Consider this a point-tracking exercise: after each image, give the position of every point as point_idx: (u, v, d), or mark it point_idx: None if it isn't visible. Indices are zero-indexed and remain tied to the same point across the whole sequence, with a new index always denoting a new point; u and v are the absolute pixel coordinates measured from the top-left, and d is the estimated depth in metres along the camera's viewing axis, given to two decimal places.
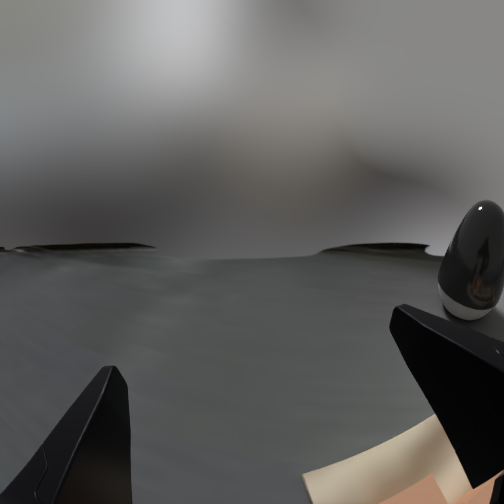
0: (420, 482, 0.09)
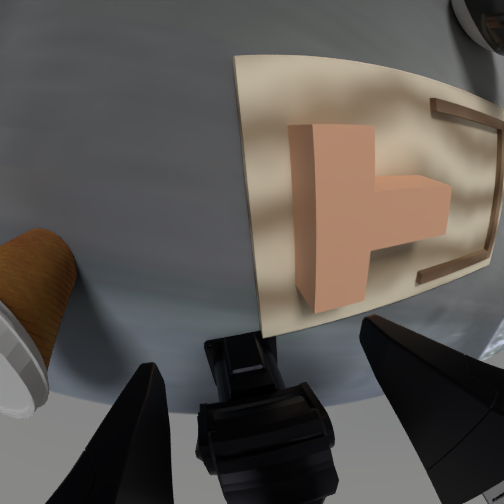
0: (360, 127, 0.13)
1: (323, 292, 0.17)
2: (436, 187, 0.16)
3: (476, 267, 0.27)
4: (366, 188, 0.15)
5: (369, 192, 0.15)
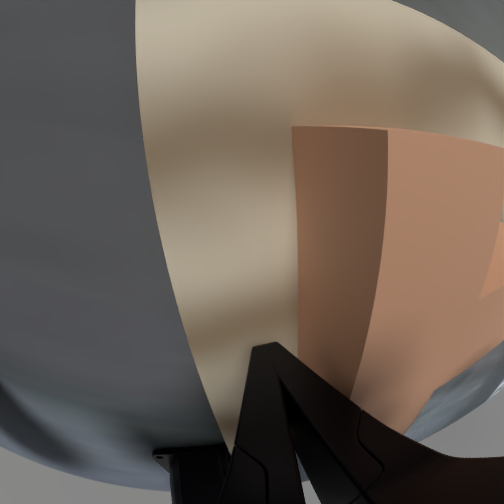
0: (490, 151, 0.04)
1: None
2: None
3: None
4: (468, 299, 0.05)
5: (470, 305, 0.05)
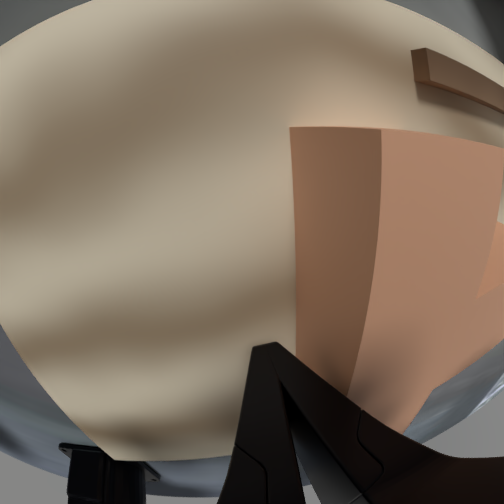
0: (486, 150, 0.04)
1: None
2: None
3: None
4: (465, 298, 0.05)
5: (467, 304, 0.05)
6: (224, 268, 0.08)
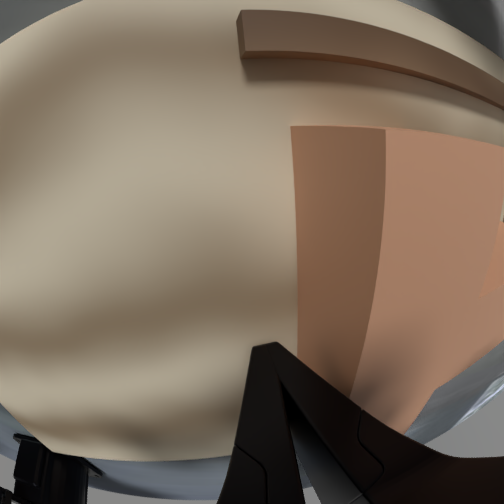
0: (489, 150, 0.04)
1: None
2: None
3: None
4: (468, 299, 0.05)
5: (470, 305, 0.05)
6: (53, 294, 0.07)
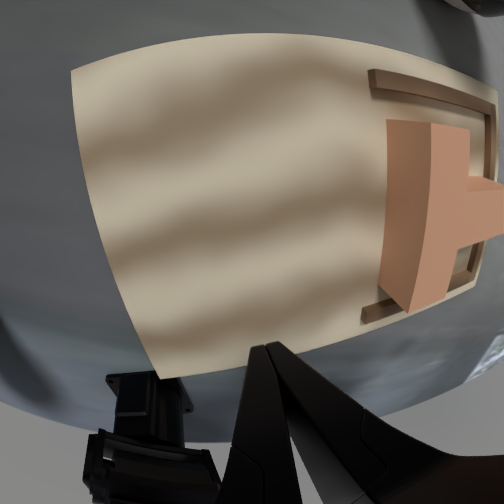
0: (461, 130, 0.11)
1: (418, 292, 0.15)
2: (503, 189, 0.14)
3: (456, 292, 0.23)
4: (462, 189, 0.13)
5: (463, 193, 0.13)
6: (268, 187, 0.15)
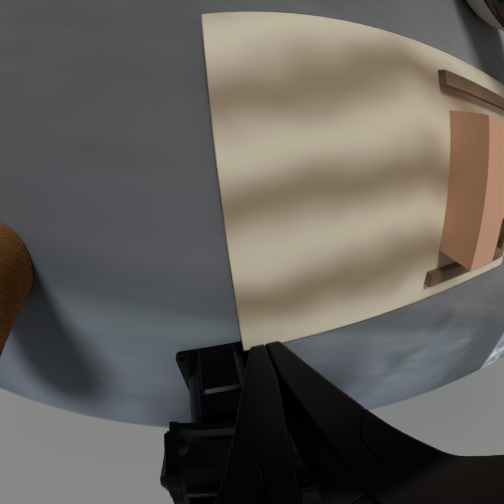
0: None
1: (478, 251, 0.16)
2: None
3: (488, 267, 0.24)
4: None
5: None
6: (375, 152, 0.15)
